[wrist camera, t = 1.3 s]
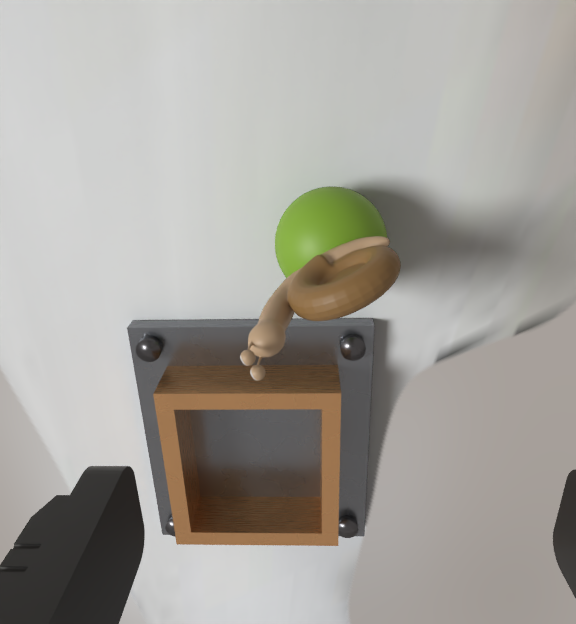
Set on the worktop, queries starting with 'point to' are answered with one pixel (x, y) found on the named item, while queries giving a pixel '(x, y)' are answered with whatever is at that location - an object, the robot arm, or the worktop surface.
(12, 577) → the robot arm
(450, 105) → the worktop surface
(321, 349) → the socket plate
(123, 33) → the worktop surface
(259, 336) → the snail figurine
